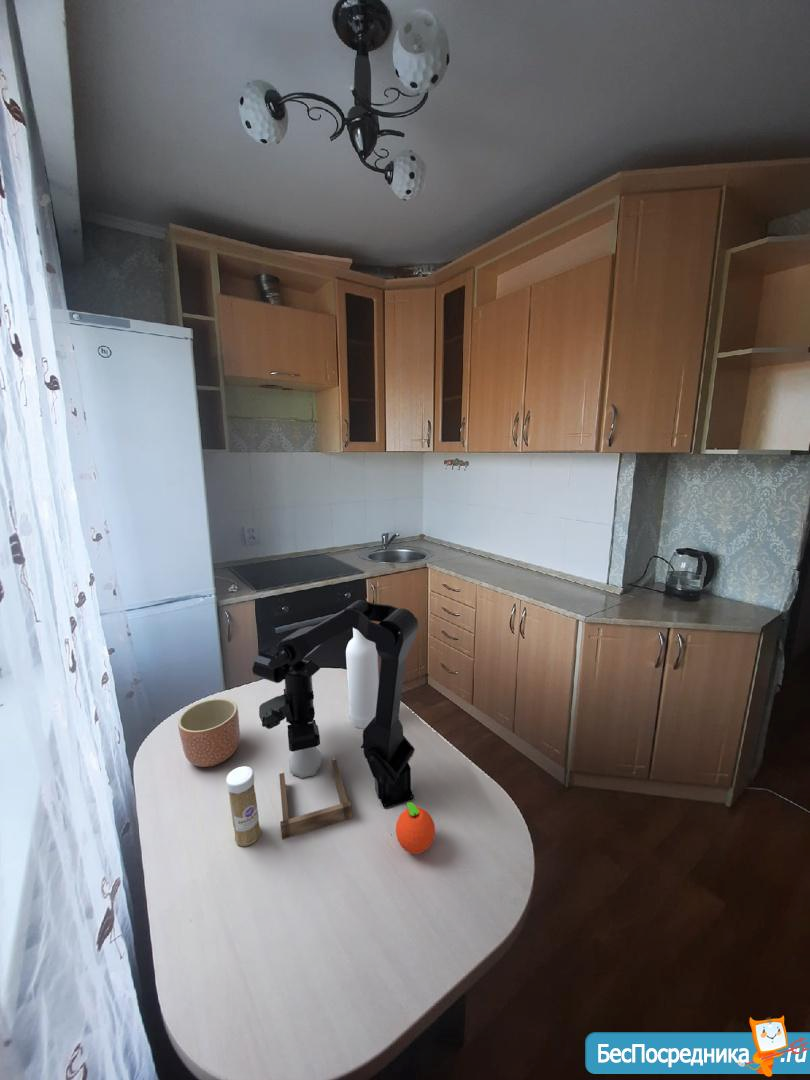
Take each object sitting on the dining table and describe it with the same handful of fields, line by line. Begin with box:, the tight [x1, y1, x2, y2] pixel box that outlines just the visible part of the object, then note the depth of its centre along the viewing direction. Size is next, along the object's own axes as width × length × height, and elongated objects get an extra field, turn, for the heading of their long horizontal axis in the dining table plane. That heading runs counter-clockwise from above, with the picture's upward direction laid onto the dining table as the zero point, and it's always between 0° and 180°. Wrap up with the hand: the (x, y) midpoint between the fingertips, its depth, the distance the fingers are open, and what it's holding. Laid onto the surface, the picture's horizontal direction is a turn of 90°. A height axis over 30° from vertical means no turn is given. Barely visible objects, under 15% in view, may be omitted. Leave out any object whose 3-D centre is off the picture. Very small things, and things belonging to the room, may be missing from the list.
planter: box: [177, 697, 241, 768], centre depth 99 cm, size 12×12×11 cm
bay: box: [278, 758, 353, 840], centre depth 86 cm, size 13×13×3 cm
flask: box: [289, 746, 323, 779], centre depth 93 cm, size 7×7×10 cm
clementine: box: [395, 801, 436, 855], centre depth 77 cm, size 8×7×7 cm
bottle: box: [345, 628, 379, 730], centre depth 108 cm, size 8×8×30 cm
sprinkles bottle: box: [225, 765, 262, 847], centre depth 78 cm, size 5×5×14 cm
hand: (302, 746), depth 98 cm, fingers closed, pressing on flask
